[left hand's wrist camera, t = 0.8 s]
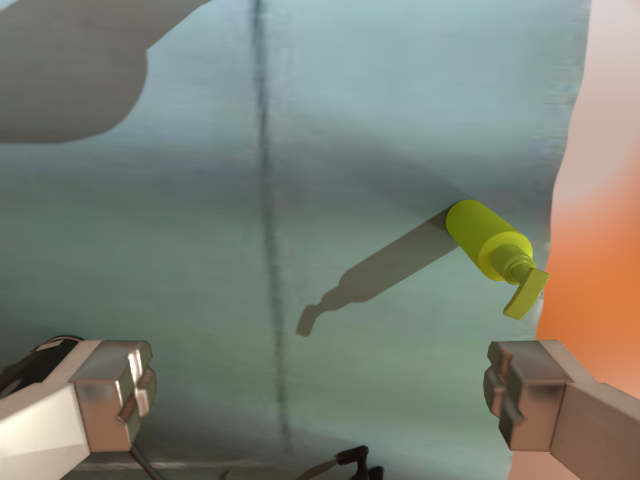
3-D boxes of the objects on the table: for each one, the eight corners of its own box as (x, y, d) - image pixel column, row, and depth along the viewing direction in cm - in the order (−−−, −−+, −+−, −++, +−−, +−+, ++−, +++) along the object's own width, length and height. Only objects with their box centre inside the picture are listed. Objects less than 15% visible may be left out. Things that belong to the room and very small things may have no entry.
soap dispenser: (434, 238, 60) (486, 310, 42) (457, 193, 58) (523, 248, 39) (472, 252, 61) (539, 329, 42) (496, 208, 59) (579, 269, 40)
